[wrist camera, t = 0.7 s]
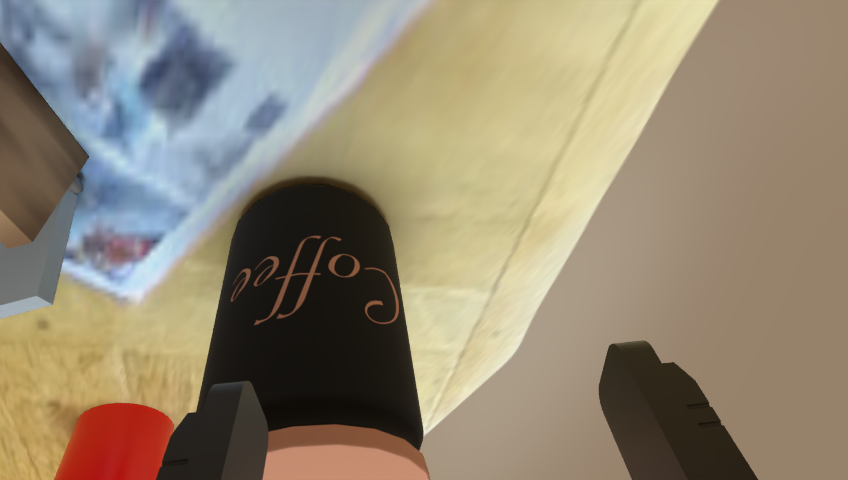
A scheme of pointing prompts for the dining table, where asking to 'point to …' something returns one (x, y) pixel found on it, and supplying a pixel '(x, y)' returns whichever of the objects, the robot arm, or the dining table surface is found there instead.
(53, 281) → the panel
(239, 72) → the dining table surface
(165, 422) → the mug
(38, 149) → the open wooden box
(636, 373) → the robot arm
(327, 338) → the coffee jar
